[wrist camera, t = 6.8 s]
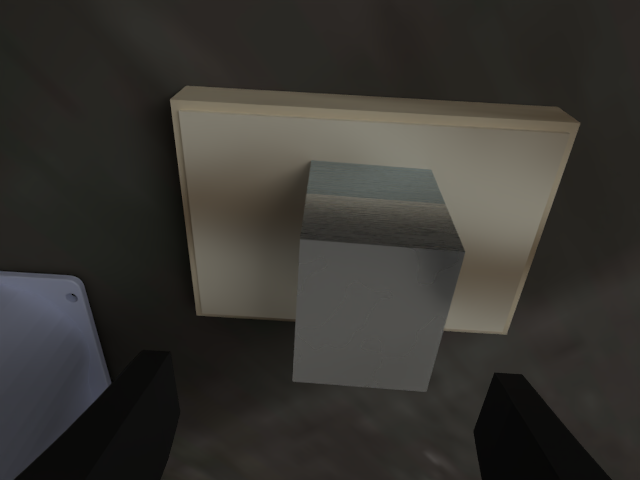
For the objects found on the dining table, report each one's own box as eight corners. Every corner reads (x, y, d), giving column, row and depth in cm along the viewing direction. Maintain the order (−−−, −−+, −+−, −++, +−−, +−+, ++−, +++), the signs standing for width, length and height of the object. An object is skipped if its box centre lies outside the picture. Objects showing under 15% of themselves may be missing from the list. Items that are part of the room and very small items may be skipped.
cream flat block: (494, 306, 21) (507, 338, 19) (207, 288, 21) (195, 318, 19) (557, 107, 16) (583, 125, 14) (186, 85, 16) (168, 101, 15)
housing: (406, 288, 18) (426, 391, 14) (304, 280, 18) (292, 381, 14) (431, 169, 15) (465, 252, 11) (311, 160, 15) (299, 239, 11)
